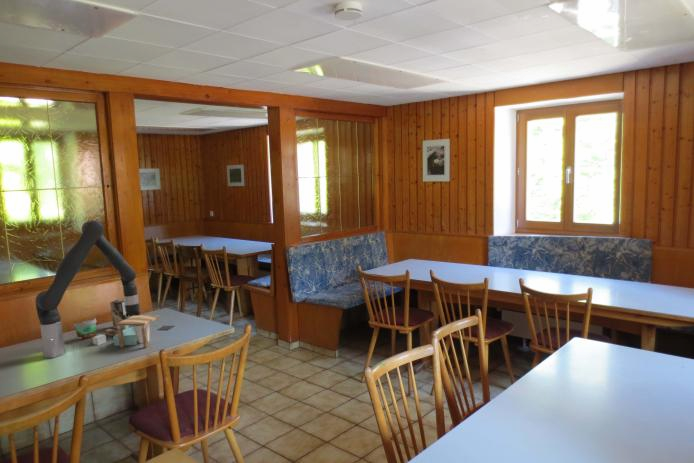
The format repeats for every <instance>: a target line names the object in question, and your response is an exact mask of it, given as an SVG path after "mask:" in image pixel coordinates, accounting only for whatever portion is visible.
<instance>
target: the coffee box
mask: <svg viewBox="0 0 694 463" xmlns="http://www.w3.org/2000/svg"><path fill="white" fill-rule="evenodd" d="M109 306H110V312H111V320H112V327H113V329H117V323H119V322H121V321H123V318H122V316H123V315H126V311H125V303H124V299H115V300H113V301H110V302H109ZM127 318H128V317H127ZM128 327H129V326H128V325H122V330H125V329H126V328H128Z"/></svg>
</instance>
